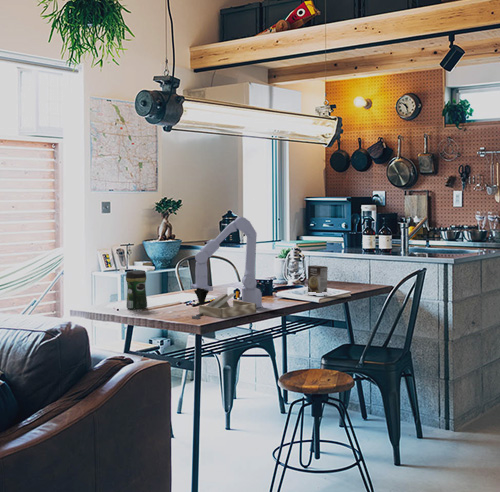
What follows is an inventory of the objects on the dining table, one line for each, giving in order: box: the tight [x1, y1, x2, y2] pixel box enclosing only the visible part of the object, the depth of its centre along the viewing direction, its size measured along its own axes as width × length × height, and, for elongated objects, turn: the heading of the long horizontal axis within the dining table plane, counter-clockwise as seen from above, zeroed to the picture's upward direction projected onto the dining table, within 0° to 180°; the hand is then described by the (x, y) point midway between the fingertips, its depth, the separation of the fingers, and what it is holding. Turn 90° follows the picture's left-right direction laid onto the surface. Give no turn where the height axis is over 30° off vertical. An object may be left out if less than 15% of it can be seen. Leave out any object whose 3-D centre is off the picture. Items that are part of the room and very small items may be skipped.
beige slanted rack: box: [197, 292, 238, 313], centre depth 321 cm, size 16×9×15 cm
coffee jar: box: [125, 269, 148, 310], centre depth 332 cm, size 10×8×19 cm
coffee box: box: [307, 265, 328, 293], centre depth 373 cm, size 9×6×16 cm
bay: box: [198, 299, 257, 319], centre depth 318 cm, size 22×15×4 cm
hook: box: [191, 313, 204, 320], centre depth 308 cm, size 10×3×1 cm, turn 157°
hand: (201, 304), depth 332 cm, fingers closed
